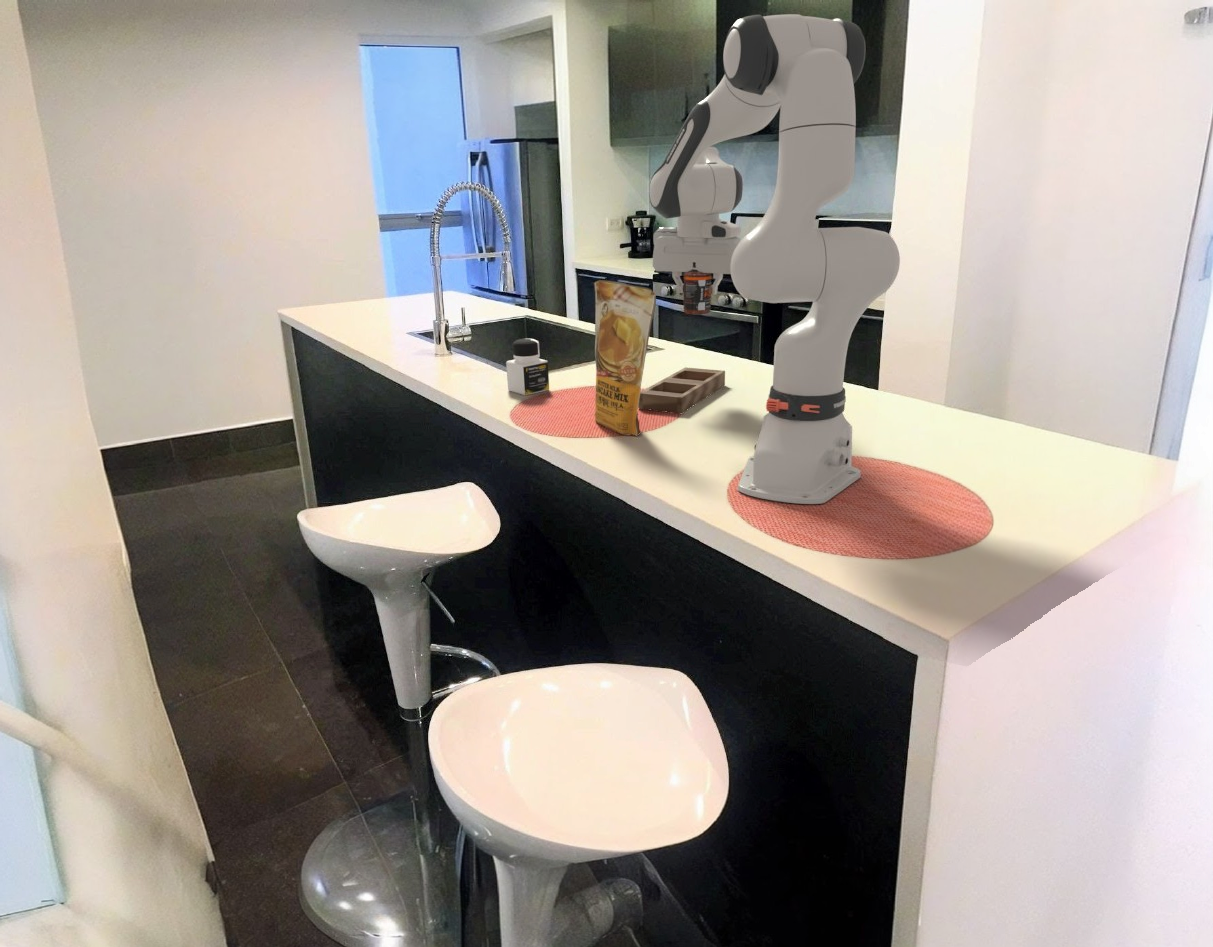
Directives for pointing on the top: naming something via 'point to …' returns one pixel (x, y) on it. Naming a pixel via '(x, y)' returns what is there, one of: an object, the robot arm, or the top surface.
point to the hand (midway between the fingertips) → (697, 293)
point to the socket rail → (681, 390)
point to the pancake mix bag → (620, 352)
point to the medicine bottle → (527, 368)
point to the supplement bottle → (697, 292)
